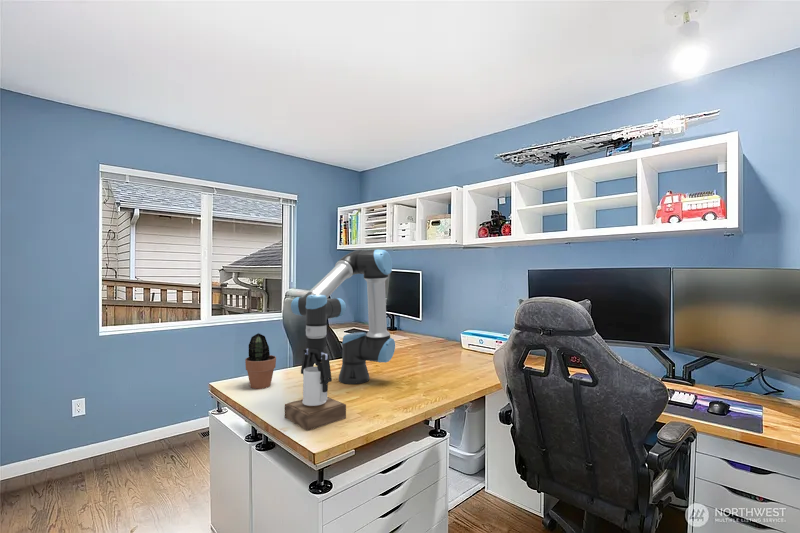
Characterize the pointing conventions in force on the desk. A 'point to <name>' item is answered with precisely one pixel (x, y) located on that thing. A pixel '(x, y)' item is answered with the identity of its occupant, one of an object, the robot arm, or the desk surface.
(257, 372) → the potted plant
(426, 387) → the desk surface
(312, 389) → the mug
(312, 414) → the tray
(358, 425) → the desk surface
